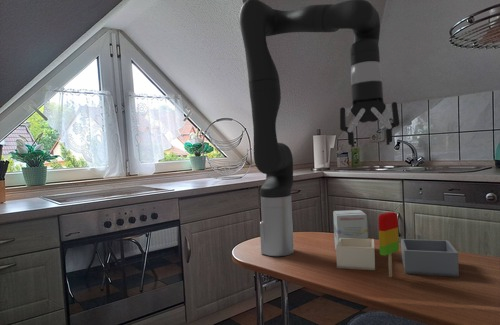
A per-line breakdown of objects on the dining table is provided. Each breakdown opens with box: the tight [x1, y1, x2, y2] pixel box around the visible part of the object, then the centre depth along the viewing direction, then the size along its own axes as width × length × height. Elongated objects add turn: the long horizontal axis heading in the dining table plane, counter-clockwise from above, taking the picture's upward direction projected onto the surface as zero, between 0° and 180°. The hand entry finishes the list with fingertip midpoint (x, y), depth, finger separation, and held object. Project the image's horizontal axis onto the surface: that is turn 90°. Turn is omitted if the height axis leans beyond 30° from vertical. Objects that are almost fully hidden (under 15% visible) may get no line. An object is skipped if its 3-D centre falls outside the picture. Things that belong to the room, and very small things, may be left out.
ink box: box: [332, 209, 369, 250], centre depth 104 cm, size 9×9×12 cm
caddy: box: [400, 238, 460, 278], centre depth 88 cm, size 11×11×6 cm
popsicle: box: [378, 211, 400, 278], centre depth 82 cm, size 6×2×15 cm, turn 126°
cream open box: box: [335, 238, 376, 271], centre depth 93 cm, size 9×9×6 cm
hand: (370, 145), depth 91 cm, fingers open, 8 cm apart
